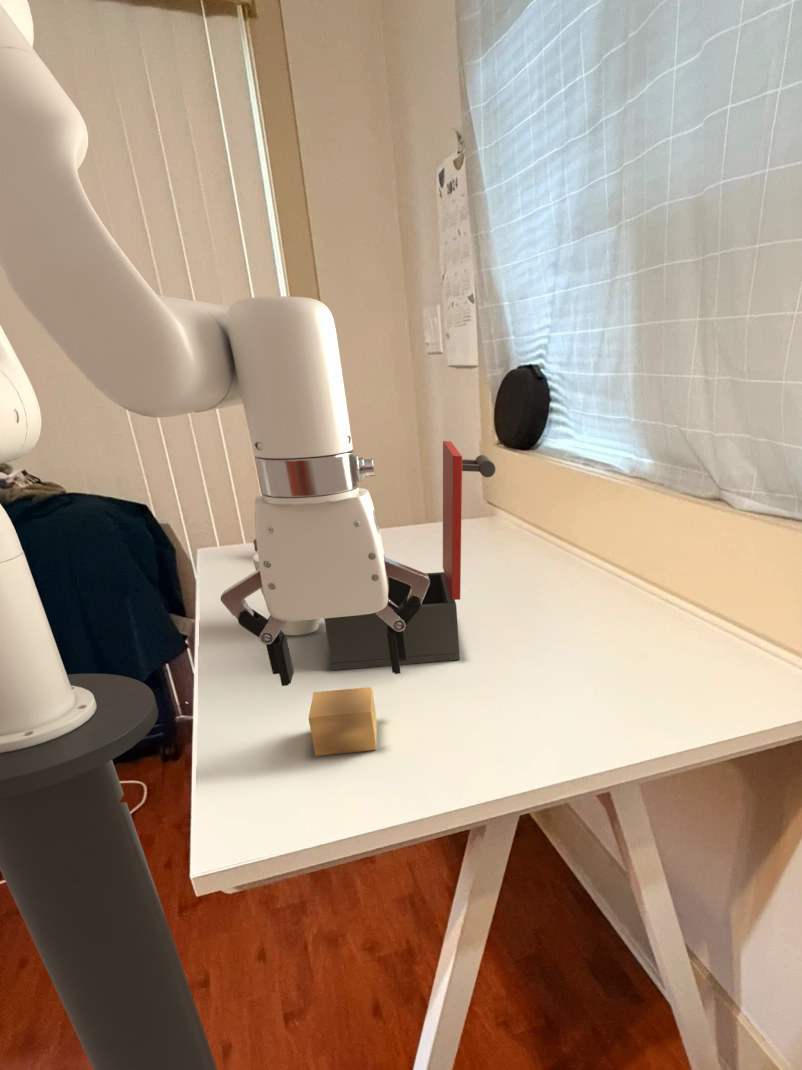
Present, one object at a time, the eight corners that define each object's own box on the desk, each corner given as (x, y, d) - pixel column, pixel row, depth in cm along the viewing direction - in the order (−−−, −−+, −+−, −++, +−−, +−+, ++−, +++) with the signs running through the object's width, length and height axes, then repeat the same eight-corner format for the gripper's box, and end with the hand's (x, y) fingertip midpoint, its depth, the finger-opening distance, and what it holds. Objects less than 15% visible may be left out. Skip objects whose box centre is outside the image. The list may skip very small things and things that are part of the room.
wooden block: (315, 756, 64) (308, 717, 63) (319, 728, 69) (313, 691, 67) (376, 750, 65) (371, 711, 64) (377, 723, 70) (372, 686, 68)
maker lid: (452, 455, 74) (501, 457, 75) (442, 440, 86) (485, 442, 87) (451, 599, 81) (496, 599, 82) (442, 567, 93) (482, 568, 94)
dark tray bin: (332, 670, 82) (323, 613, 79) (338, 629, 94) (331, 579, 91) (460, 659, 84) (456, 604, 81) (450, 621, 96) (446, 571, 93)
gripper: (416, 464, 61) (435, 649, 69) (204, 477, 58) (250, 668, 66) (420, 478, 54) (441, 680, 62) (182, 492, 52) (236, 702, 60)
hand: (343, 673), depth 64 cm, fingers open, 9 cm apart
